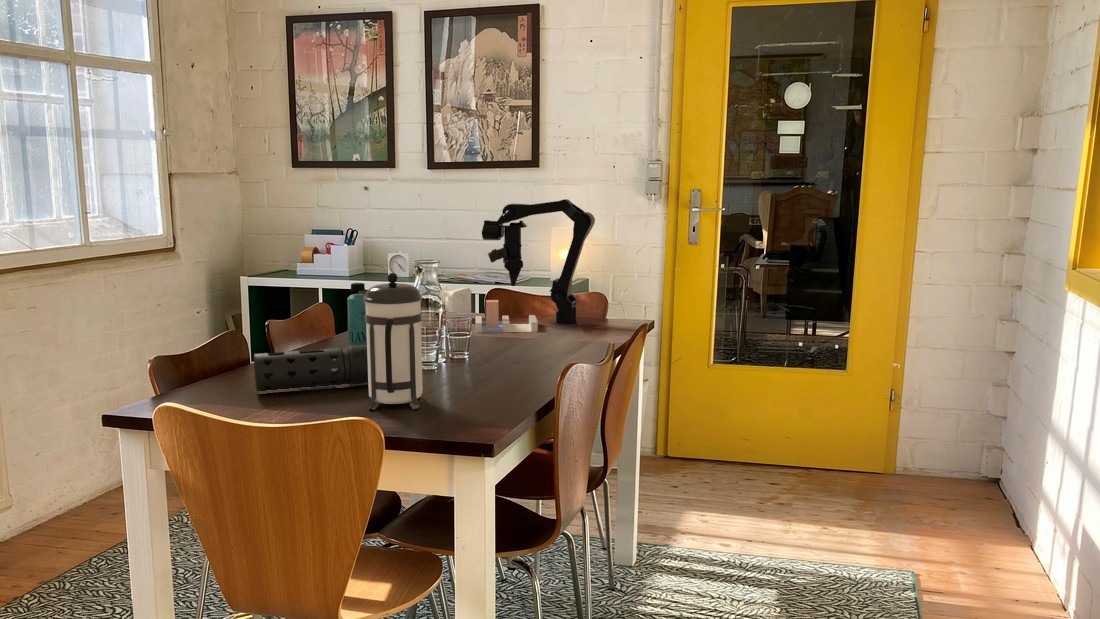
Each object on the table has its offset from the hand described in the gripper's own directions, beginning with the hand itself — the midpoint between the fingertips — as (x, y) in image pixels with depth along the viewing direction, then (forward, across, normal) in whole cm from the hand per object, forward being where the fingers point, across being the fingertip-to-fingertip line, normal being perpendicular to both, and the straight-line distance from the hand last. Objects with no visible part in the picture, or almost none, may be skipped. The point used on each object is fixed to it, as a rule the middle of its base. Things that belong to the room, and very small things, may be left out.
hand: (512, 285), depth 296 cm
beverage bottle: (+13, +42, -47) cm, 64 cm away
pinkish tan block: (+12, +15, -7) cm, 21 cm away
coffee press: (+13, +104, -30) cm, 109 cm away
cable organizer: (+13, -6, -22) cm, 26 cm away
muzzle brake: (+13, +88, -51) cm, 103 cm away
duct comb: (+13, +15, -3) cm, 20 cm away
